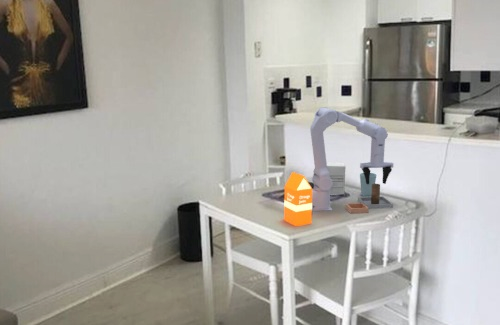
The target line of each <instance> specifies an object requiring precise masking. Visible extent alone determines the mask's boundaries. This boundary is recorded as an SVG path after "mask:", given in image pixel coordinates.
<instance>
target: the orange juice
mask: <svg viewBox="0 0 500 325" xmlns="http://www.w3.org/2000/svg"><path fill="white" fill-rule="evenodd" d="M312 189H313V188H312V186H311V185H310V183H309V182H308V180H307V178H306V177H305V175H302V174H301V173H298V172H297V173H296V172H295V171H292V172H291V174H290V175H289V178H288V179H287V181H286V183H285V184H284V200H283V201H284V203H283V206H284V208H283V209H284V211H283V213H284V215H283V220H284V221H285V222H287V223H289V224H291V225H292V226H294V227H299V226H305V225H309V224H312V212H313V211H312Z"/></svg>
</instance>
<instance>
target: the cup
mask: <svg viewBox="0 0 500 325" xmlns="http://www.w3.org/2000/svg"><path fill="white" fill-rule="evenodd" d="M376 178H377V174H376V173H375V172H370V177H369V184H366V179H365V175H364V173H363V172H361V173H359V180H360V195H361V197H371V192H372V184H376V180H377V179H376Z"/></svg>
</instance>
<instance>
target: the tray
mask: <svg viewBox="0 0 500 325" xmlns="http://www.w3.org/2000/svg"><path fill="white" fill-rule="evenodd" d="M357 201H358V202H357V203H363V204H364V205H366V206H367V207H368V208H369V209H390V208H393V207H394V204H393V203H392V202H391V201H390V200H389V199H388V198H386V197H384V196H380V199H379V204H371V197H364V196H360V197H359V196H358V197H357Z"/></svg>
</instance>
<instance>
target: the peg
mask: <svg viewBox="0 0 500 325" xmlns="http://www.w3.org/2000/svg"><path fill="white" fill-rule="evenodd" d="M380 193H381V184H379V183H375V184H372V192H371V204H379V199H380V197H381V194H380Z"/></svg>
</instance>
